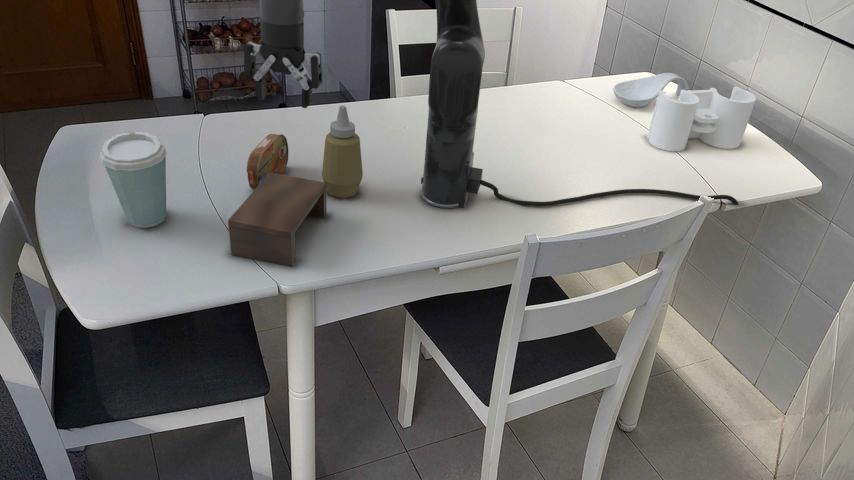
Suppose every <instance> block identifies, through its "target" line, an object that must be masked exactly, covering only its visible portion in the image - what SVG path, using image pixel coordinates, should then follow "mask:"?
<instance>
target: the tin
mask: <svg viewBox="0 0 854 480" xmlns="http://www.w3.org/2000/svg"><path fill="white" fill-rule="evenodd" d="M286 137H287V136H285V135H284V134H277V133H270V134H267V135H266V136H265V137H264V138H263V139H262V140H261V141H260V142H259V143H258V145H257V146H256V147H255V148H254V149H252V151H251V152H250V154H249V156H248V159H247V161H246V162H247V163H246V173H247V180H248V181H247V182H248V186H249V187H250V189H251V190H253V191H254V190H255V189H256V188H257V187H258V185H259V184H260V183H261V182H262V181H263V180H264V178H265V177H266V176H267V175H268V174H269V173H270V172H271V173H277V174H282V175H284V173H285V171H286V169H287V166H288V162H289V144H288V139H287V138H286Z"/></svg>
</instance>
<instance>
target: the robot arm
mask: <svg viewBox="0 0 854 480" xmlns="http://www.w3.org/2000/svg"><path fill="white" fill-rule="evenodd" d="M304 5H305V4H304V0H259V24H260V41H261V43H260V44H258V43H256V41H254V40H250V41H248V42H247V43H246V44H244V45H243V74H244V76H246V77H251V78H252V79H253V81H254V94H255V96H256V97H257V99H258V100H259V101H264V100H265V99H266V97H267V83H266V82H267V81H266V79H267V78H266V77H265V76H266V75H267V73H268V72H269V71H270V70H272V72H273V73H282V74H285V75H289V76H290V75H292V77H293V78H294V79H295V80H296V81H298V83H299V85H300V86H301V87H302V88H301V109H307V108H308V107H309V106H310V105H311V104H312V102H313V89H315V90H316V89H318V88H319V87H320V86H321V85H322V84H323V64H322V54H321V53H320V51H319V52H318V51H317V52H315V53H310V52H309V53H308V52H306V50H305V23H304V22H305V21H304V20H305V10H304V8H305V7H304ZM435 9H436V42H435V47H434V50H433V53H432V55H431V59H430V69H429V81H428V96H427V97H428V98H427V103H428V104H427V105H428V106H427V107H428V113H427V128H426V137H425V139H426V140H425V150H424V162H423V163H424V164H423V174H422V175H423V176H422V177H421V178H420V185H421V193H420V195H421V198H422V199H423V201H424V202H425V203H427V204H429V205H431V206H433V207H436V208H441V209H454V208H465V206H466V203H467V202H468V198H469V196H470V194H472V195H473V194H474V195H478V193H479V190H480V188H481V186H483V187H485V188H488V189H490V190H492V191H493V195H494V196H495V198H497V199H499V200H500V201H504V202H505V201H506V202H507V203H511V204H515V205H519V206H528V207H553V206H559V205H564V204H570V203H571V204H572V203H576V202H582V201H587V200H591V199H592V200H593V199H597V198H604V197H611V196H616V195H617V196H618V195H628V194H629V195H630V194H650V195H651V194H652V195H653V194H654V195H665V196H666V195H667V196H674V197H680V198H685V199H691V200H697V201H700V200H699V198H700V196H701V195H697V194H693V193H692V194H691V193H686V192H680V191H673V190H667V189H654V188H627V189H616V190H608V191H603V192H595V193H590V194H585V195H580V196H575V197H574V196H573V197H567V198H562V199H557V200H556V199H555V200H550V201H534V200H519V199H514V198H510V197H507V196H505V195H503V194H501V193H499V189H498V187H497V186H496V185H494V184H493V183H491V182H488V181H486V180H483V179H482V178H483V172H484V169H483V168H479V167H475V166H474V157H475V153H474V144H475V137H476V129H477V120H478V113H479V101H480V100H479V99H480V94H481V93H480V92H481V84H482V76H483V69H484V63H485V56H486V50H485V49H486V48H485V44H484V39H483V34H482V27H481V23H480V17H479V9H478V2H477V0H435ZM259 53H260V56H261V57H262V59H263V60H264V62H263V64H262V65H261V66H260V67H259V68H256V58H257V57H256V56H257V55H258V54H259ZM304 61H306V62H307V65H308V66H309V67H310V73H311V74H310V75H311V76H310V75H309V73H308V70H307V68H306V67H305V65H304V64H303V63H304ZM707 196H708V197H711V198H714V200H713V201H715V200H727V201H729V202H731V204H733V205H734V206H735V205H736V206H738V205H739V202H738V200H737V199H736V198H735V197H733V196H732V195H729V194H716V195H714V194H713V195H707Z"/></svg>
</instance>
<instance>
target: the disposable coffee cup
mask: <svg viewBox="0 0 854 480" xmlns="http://www.w3.org/2000/svg"><path fill="white" fill-rule="evenodd" d="M98 154H99V160H100V162H101V164H102V166H104V168H105V170H106V173H107V175H108V177H109V179H110V182H111V184H112V187H113V189H114V191H115V194H116V197H117V199H118V202H119V205H120V206H121V208H122V211H123V213H124V216H125V218H126V220H127V222H129V224H130V225H131V226H132V227H135V228H139V229H141V228H143V229H147V228H152V227H156V226H158V225H160V224H162V223H163V222H164V220H165V219H166V215H167V164H166V162H167V160H166V158H167V157H166V156H167V154H168V152H167V151H166V148H165V146H164V145H163V143H162V142H161V141H160V139H159V137H158V136H155V135H153V134H151V133H149V132H146V131H145V132H144V131H128V132H123V133H118V134H115V135H113V136H112V137H109V138H108V139H106V140H105V141H104V143H103V145H102V147H101V150H100V152H99V153H98Z"/></svg>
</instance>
